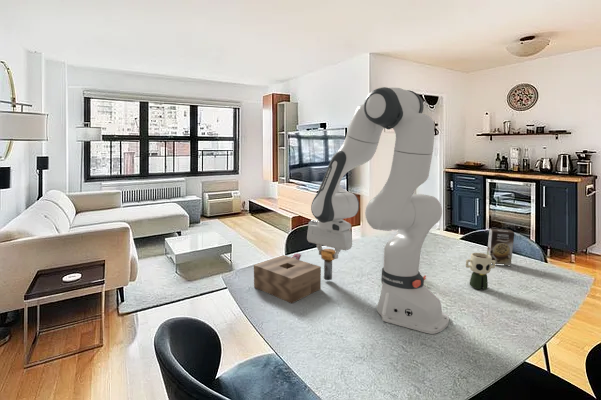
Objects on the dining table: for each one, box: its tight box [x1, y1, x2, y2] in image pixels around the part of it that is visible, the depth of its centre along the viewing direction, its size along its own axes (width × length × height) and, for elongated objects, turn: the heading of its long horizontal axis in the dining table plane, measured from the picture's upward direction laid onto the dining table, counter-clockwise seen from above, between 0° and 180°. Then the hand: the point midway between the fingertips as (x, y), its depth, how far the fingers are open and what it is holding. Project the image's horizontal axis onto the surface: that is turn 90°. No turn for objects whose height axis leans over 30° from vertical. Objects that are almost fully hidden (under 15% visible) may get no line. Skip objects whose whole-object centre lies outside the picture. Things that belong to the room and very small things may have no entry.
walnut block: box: [253, 254, 322, 304], centre depth 130 cm, size 20×16×9 cm
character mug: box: [465, 252, 496, 290], centre depth 131 cm, size 11×7×13 cm, turn 86°
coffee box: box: [486, 227, 515, 265], centre depth 158 cm, size 9×6×16 cm
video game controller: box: [291, 252, 302, 260], centre depth 154 cm, size 10×5×7 cm, turn 169°
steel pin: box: [320, 248, 336, 281], centre depth 136 cm, size 6×6×12 cm
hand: (328, 256), depth 136 cm, fingers closed on steel pin, 6 cm apart
